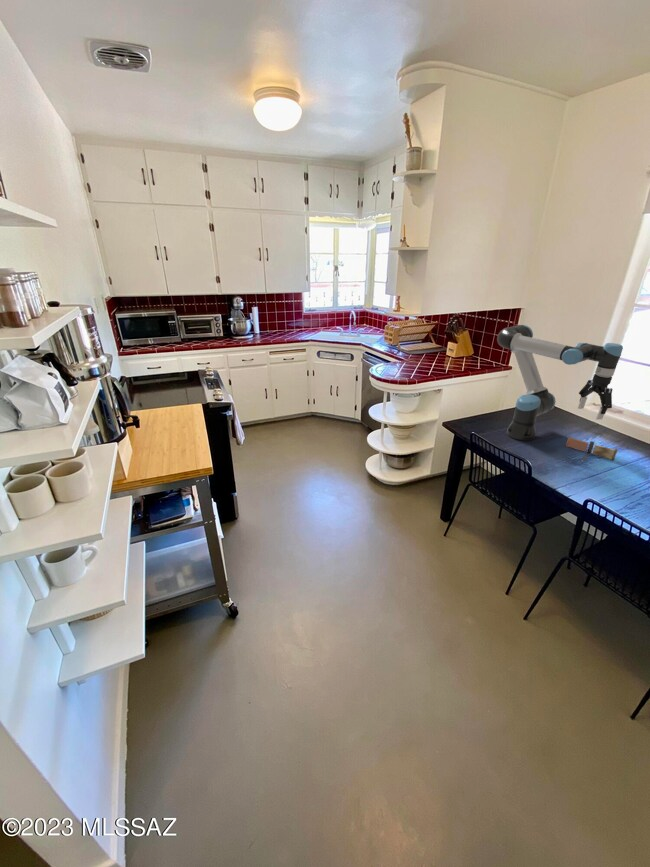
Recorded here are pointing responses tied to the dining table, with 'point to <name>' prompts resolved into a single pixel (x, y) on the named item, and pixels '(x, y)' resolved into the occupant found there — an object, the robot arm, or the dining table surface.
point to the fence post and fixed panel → (602, 451)
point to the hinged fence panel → (576, 444)
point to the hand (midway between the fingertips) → (589, 413)
